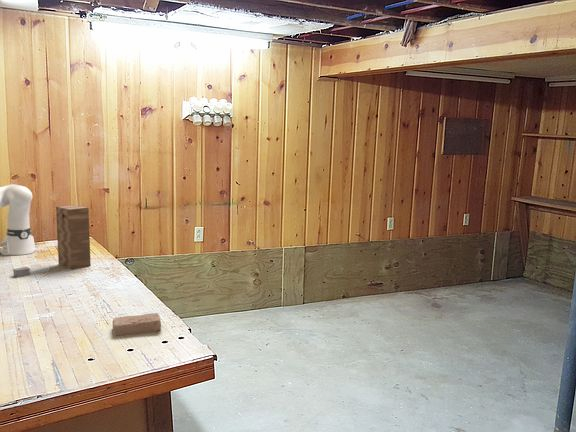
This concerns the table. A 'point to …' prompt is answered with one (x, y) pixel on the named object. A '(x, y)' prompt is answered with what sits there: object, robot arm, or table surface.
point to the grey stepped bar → (27, 271)
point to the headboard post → (73, 236)
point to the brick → (136, 324)
